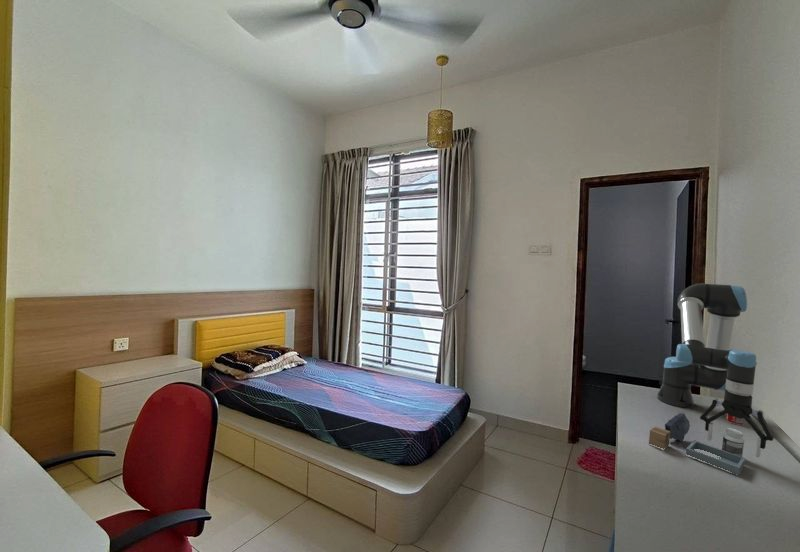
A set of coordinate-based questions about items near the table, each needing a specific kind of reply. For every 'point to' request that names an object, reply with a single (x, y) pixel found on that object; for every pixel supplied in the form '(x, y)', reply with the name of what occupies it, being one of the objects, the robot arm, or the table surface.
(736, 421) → the soda can
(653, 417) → the table surface
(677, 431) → the stone
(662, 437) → the brown cube
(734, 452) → the pill bottle
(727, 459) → the tray
